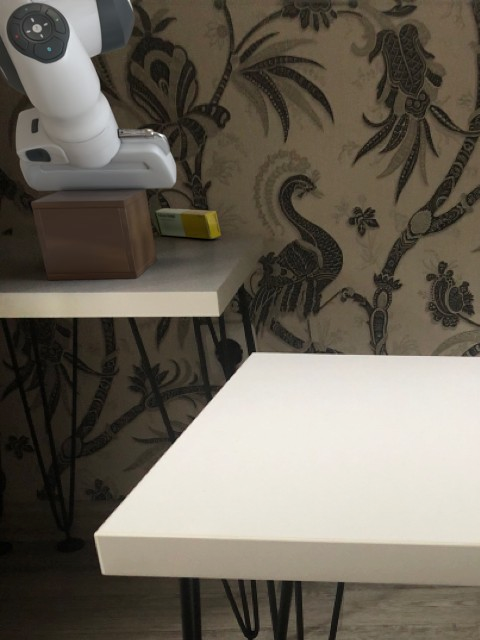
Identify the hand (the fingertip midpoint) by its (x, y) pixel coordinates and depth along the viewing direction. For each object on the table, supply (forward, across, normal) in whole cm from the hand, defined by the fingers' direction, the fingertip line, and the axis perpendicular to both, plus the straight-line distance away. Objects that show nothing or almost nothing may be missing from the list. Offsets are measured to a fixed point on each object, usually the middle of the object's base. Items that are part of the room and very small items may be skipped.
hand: (115, 202), depth 134 cm
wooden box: (-3, 0, +13) cm, 14 cm away
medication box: (+17, -7, -6) cm, 19 cm away
